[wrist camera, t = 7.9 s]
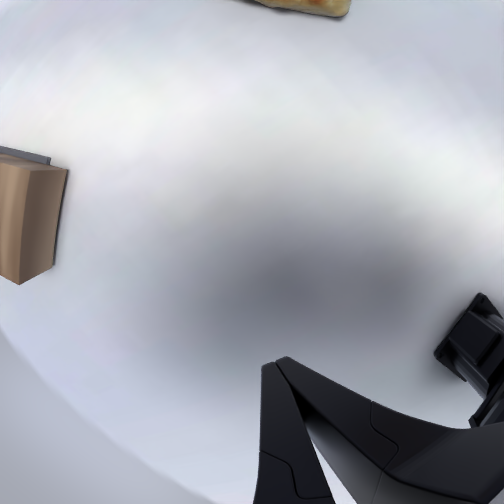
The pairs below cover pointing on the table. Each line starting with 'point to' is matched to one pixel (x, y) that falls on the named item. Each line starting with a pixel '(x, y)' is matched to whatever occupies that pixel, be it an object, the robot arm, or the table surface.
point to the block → (28, 216)
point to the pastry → (312, 6)
